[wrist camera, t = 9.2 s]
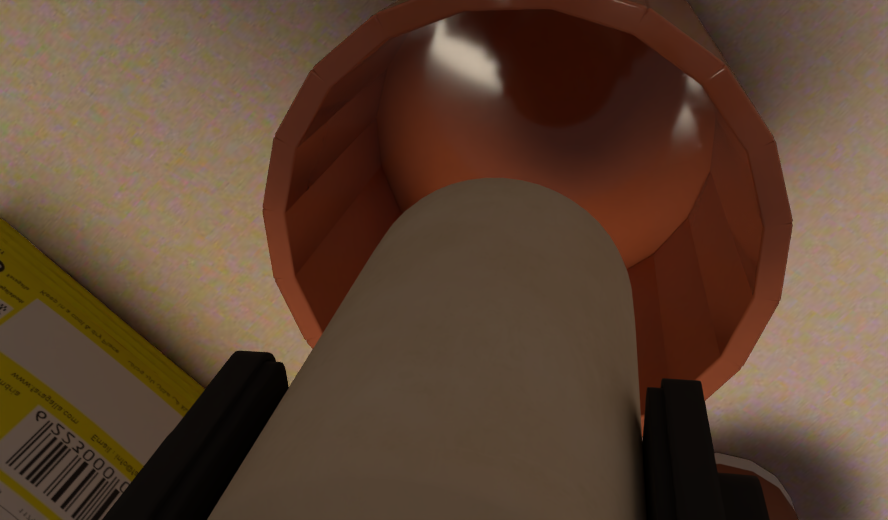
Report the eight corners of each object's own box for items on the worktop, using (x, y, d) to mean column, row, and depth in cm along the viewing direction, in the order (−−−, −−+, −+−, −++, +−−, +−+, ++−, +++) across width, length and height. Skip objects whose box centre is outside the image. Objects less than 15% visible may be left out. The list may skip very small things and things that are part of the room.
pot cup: (381, 288, 30) (299, 438, 22) (348, -49, 24) (223, -11, 17) (711, 303, 27) (752, 477, 20) (754, -66, 22) (834, -32, 14)
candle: (341, 199, 16) (13, 598, 7) (609, 149, 14) (610, 579, 6) (411, 413, 18) (227, 922, 9) (652, 389, 17) (701, 970, 8)
